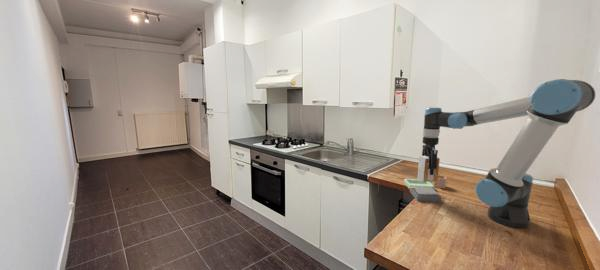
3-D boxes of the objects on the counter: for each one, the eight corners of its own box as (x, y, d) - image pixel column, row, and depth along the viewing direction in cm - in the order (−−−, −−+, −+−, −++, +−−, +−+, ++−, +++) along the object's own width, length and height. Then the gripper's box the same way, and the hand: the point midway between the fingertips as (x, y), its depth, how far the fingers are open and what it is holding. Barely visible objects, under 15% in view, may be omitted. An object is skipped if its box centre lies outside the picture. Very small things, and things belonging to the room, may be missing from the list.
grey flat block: (440, 201, 131) (441, 195, 130) (416, 200, 132) (416, 194, 131) (431, 192, 142) (431, 186, 142) (408, 191, 144) (409, 185, 143)
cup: (447, 188, 148) (448, 179, 147) (435, 188, 149) (436, 178, 148) (442, 184, 155) (443, 175, 154) (430, 183, 156) (431, 174, 155)
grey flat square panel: (438, 195, 131) (438, 194, 131) (418, 194, 132) (419, 193, 132) (430, 188, 141) (430, 186, 141) (412, 187, 142) (412, 185, 142)
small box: (423, 182, 131) (425, 158, 129) (417, 178, 138) (418, 155, 136) (437, 181, 132) (440, 158, 130) (430, 177, 138) (432, 155, 136)
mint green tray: (434, 190, 146) (434, 186, 145) (409, 189, 147) (409, 185, 146) (426, 183, 156) (426, 179, 156) (403, 182, 158) (404, 178, 157)
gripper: (447, 140, 121) (442, 184, 125) (430, 133, 140) (427, 172, 144) (431, 139, 121) (427, 184, 125) (416, 133, 141) (413, 172, 145)
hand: (427, 177), depth 135 cm, fingers closed on small box, 7 cm apart
